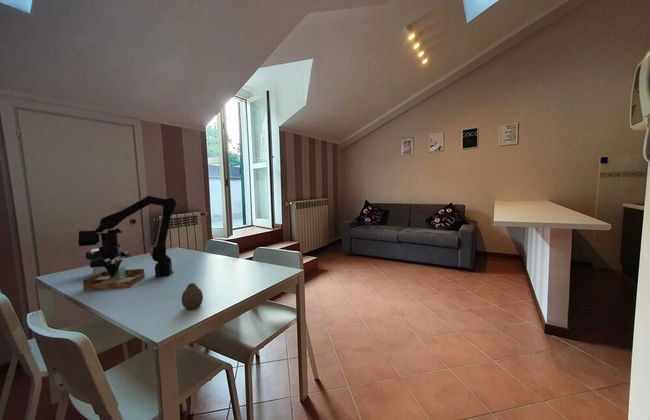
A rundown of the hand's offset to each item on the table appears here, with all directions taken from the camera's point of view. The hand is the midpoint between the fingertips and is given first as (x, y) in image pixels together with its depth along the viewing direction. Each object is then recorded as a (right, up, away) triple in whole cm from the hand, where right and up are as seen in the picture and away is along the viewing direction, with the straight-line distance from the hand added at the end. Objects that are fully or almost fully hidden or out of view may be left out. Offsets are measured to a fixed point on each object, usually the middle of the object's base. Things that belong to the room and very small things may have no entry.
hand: (112, 276), depth 120 cm
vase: (+49, -5, -25) cm, 56 cm away
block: (-1, -1, +4) cm, 4 cm away
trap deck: (0, -4, +1) cm, 4 cm away
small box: (-19, -3, +16) cm, 25 cm away
